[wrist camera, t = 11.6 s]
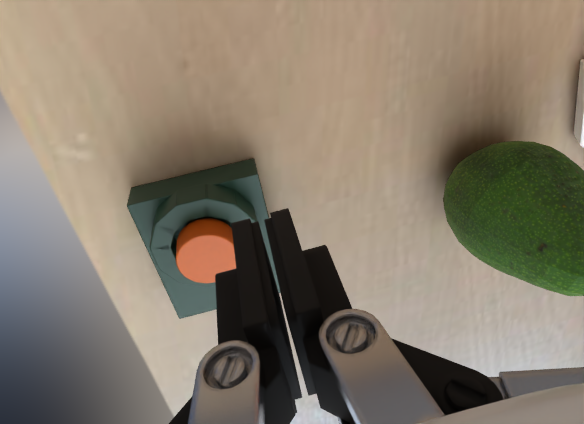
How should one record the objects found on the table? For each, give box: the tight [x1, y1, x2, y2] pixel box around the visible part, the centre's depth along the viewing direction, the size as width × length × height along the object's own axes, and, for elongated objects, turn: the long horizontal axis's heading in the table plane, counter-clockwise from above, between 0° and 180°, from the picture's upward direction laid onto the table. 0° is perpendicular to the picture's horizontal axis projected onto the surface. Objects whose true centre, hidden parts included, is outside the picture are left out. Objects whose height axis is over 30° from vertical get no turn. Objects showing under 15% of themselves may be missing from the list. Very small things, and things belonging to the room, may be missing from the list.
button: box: [176, 218, 236, 283], centre depth 26 cm, size 4×4×2 cm
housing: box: [127, 159, 281, 319], centre depth 29 cm, size 10×8×4 cm
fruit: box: [443, 141, 584, 296], centre depth 27 cm, size 8×8×12 cm
